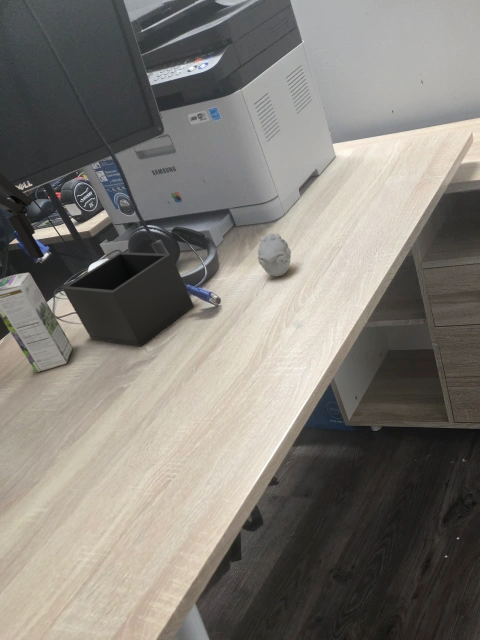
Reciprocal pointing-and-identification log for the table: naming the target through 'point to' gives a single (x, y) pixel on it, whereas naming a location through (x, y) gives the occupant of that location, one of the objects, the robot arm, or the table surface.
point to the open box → (129, 297)
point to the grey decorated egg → (274, 255)
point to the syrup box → (33, 323)
